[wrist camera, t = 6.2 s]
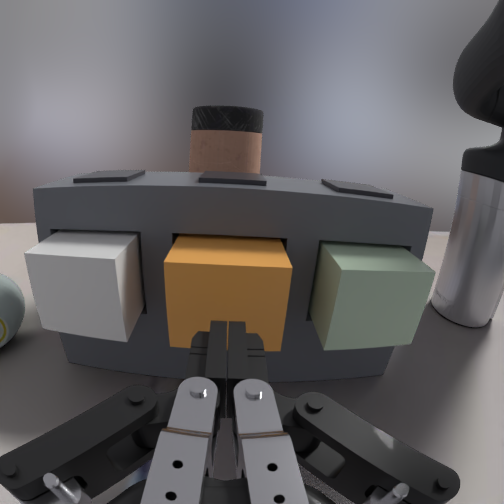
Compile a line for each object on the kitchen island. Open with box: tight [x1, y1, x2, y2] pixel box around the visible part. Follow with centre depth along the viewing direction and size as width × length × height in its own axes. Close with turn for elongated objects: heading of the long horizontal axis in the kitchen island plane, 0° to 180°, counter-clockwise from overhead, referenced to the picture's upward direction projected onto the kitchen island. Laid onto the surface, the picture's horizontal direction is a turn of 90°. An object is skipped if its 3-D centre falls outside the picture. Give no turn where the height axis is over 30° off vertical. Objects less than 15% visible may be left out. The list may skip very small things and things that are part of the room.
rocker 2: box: [308, 240, 436, 350], centre depth 19 cm, size 6×7×5 cm
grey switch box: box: [33, 170, 433, 382], centre depth 22 cm, size 26×7×14 cm, turn 93°
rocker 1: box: [24, 229, 146, 342], centre depth 17 cm, size 6×7×5 cm
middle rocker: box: [164, 233, 292, 351], centre depth 18 cm, size 6×7×5 cm
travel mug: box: [189, 106, 263, 174], centre depth 33 cm, size 8×8×20 cm
